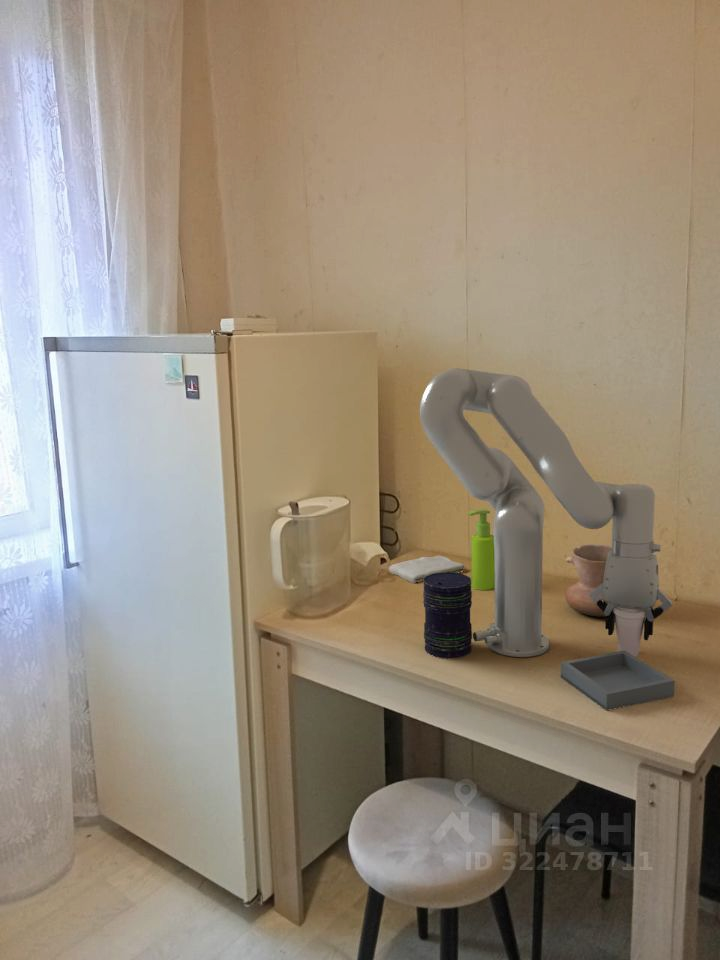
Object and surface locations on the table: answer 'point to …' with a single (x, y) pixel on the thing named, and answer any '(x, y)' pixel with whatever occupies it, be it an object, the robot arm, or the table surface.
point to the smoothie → (629, 627)
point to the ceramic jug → (587, 577)
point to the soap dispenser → (482, 554)
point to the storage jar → (447, 615)
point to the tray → (617, 679)
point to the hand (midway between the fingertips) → (628, 634)
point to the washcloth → (425, 568)
